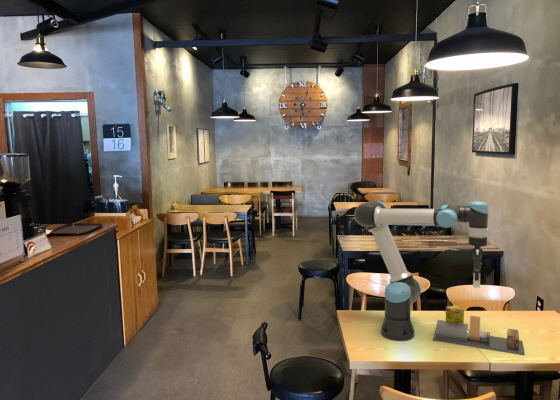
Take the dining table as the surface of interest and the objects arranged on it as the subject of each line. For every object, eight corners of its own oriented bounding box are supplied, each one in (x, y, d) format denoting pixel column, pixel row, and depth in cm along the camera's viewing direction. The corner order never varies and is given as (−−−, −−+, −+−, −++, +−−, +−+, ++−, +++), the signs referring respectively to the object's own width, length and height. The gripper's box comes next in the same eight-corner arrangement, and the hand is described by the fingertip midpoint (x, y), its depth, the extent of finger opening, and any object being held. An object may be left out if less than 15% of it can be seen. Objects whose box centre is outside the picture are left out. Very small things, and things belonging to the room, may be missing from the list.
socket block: (508, 347, 179) (508, 335, 179) (507, 340, 186) (507, 328, 186) (518, 349, 178) (519, 337, 177) (517, 341, 185) (517, 329, 184)
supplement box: (453, 333, 198) (453, 310, 197) (445, 328, 204) (445, 306, 202) (463, 331, 200) (464, 309, 198) (455, 326, 205) (455, 304, 204)
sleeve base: (433, 340, 191) (433, 326, 190) (435, 330, 201) (436, 317, 201) (524, 355, 175) (525, 340, 174) (522, 343, 186) (522, 329, 185)
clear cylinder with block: (440, 335, 193) (441, 315, 192) (441, 331, 196) (442, 311, 195) (489, 342, 184) (490, 321, 183) (489, 338, 188) (490, 318, 187)
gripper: (487, 242, 174) (486, 292, 176) (486, 231, 196) (485, 276, 199) (467, 241, 177) (466, 290, 180) (469, 230, 200) (468, 274, 202)
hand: (476, 282), depth 189 cm, fingers open, 13 cm apart
